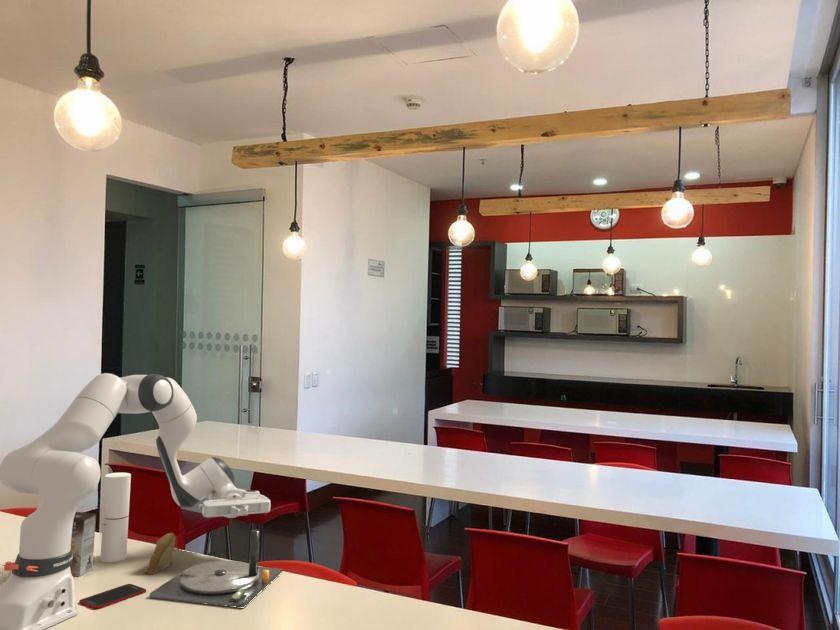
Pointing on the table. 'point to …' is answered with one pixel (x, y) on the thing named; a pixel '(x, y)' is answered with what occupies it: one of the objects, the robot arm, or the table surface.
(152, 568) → the rock
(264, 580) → the level mark
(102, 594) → the cell phone
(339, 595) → the table surface
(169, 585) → the grey square base plate
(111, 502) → the cylindrical container
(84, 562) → the coffee box
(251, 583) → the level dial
